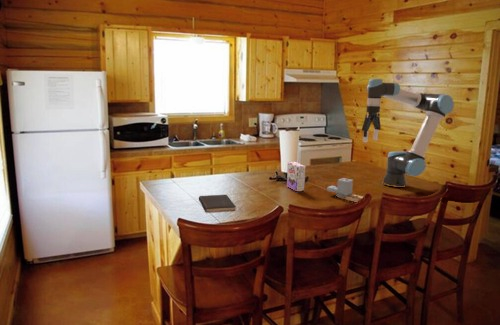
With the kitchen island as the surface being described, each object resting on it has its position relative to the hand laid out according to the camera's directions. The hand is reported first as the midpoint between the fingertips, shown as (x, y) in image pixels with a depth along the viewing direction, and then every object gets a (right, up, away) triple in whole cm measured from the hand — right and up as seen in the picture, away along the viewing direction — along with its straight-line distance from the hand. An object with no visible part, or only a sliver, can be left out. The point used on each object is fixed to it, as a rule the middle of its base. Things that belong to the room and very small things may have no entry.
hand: (370, 141), depth 240 cm
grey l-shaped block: (-19, -30, -2) cm, 36 cm away
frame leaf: (-11, -35, -8) cm, 37 cm away
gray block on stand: (-17, -34, -3) cm, 38 cm away
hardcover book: (-90, -36, -21) cm, 100 cm away
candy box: (-44, -30, +13) cm, 54 cm away
